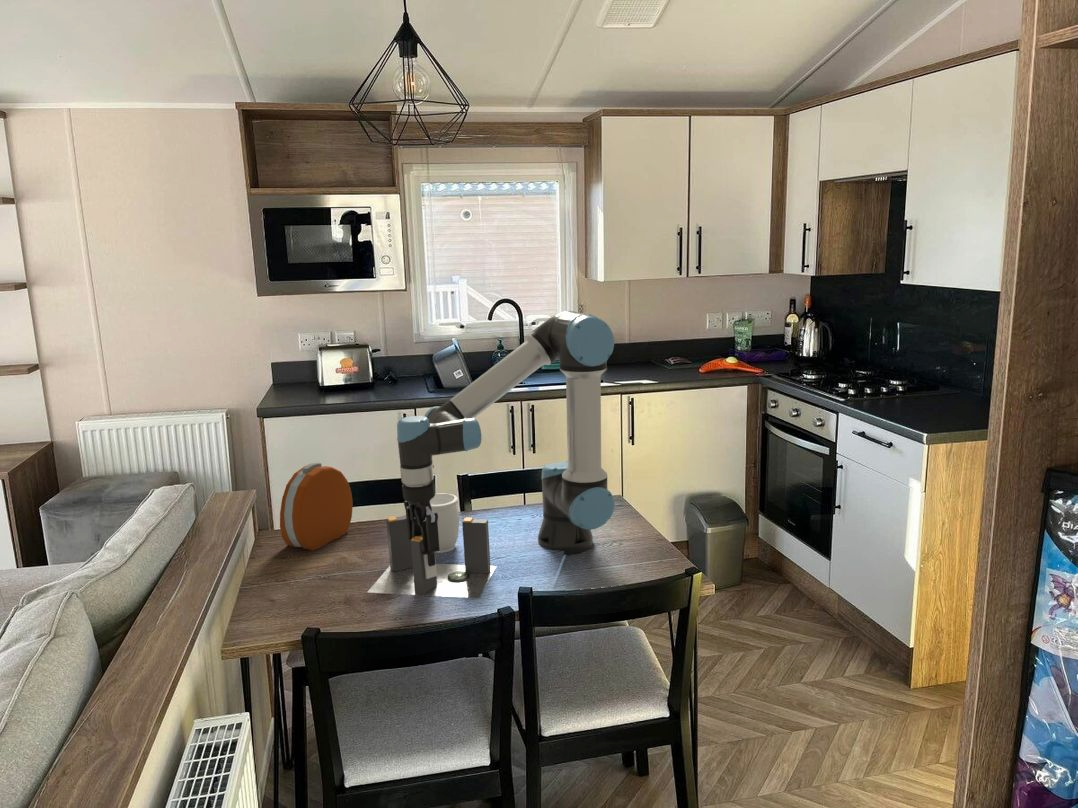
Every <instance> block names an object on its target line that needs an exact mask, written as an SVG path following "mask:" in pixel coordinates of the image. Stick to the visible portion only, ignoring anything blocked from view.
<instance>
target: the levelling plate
mask: <svg viewBox="0 0 1078 808" xmlns="http://www.w3.org/2000/svg"><path fill="white" fill-rule="evenodd" d="M490 567H491V570H490V571H489V573H467V572H465V564H453V563H452V564H451V563H436V570H437V585H436V586H435V587H434V588H432V589H431V590H430V591H428V592H427V593H426V594H424V595H423V596H428V597H429V596H430V597H431V596H432V597H446V598H447V597H448V598H449V597H450V598H451V597H452V598H464V599H465V598H466V599H467V598H468V599H480V597H481V596H482V594H483V592H484V590H485V588H486V586H487V585H488V583H489V581H490V579H491V577H492V576H493V574H494V572H495V570H496V568H497V565H490ZM367 593H368V594H387V595H388V594H389V595H404V596H405V595H406V596H420V595H419V594H415V588H414V575H413V568H408V569H404V570H399V571H395V572H393V571H392V570H391V569H390V565H389V566H388V567H387V568H386V570H384V572H383V573H382V574H381V576H379V578H378V579H377V580H376V581H375V582H374V583H373V585H372V586H371V587H370V588H369V589H368V591H367Z"/></svg>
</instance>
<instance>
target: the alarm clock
mask: <svg viewBox="0 0 1078 808" xmlns="http://www.w3.org/2000/svg"><path fill="white" fill-rule="evenodd" d="M352 496H353V495H352V491H351V487H350V484H349V481H348V479H347V478H346V476H345V475H344V473H342V471H341V470H339V469H336V468H335V467H332V466H328V465H325V466H322V463H321V462H312V463H309V464H307V465H305V466H303V467H302V468H299V470H297V471H296V472H294V473H293V475H292V477H290V478H289V480H288V482H287V484H286V485H285V489H284V491H283V495H282V498H281V503H280V511H279V529H280V535H281V537H282V540H283V541H284V543H285V544H286V545H287V546H288V545H289V546H288V547H291V546H293V548H296V547H299V548H303V549H304V550H306V549H308V551H315V550H314V549H316V548H318V547H320V546H321V547H323V546H325V545H327V544H328V542H329V543H330V541H331V542H333V541H334V539H335V540H337V539H338V538H340V537H342V536H344V535H346V534H347V532H348V530H349V528H350V525H351V522H352V518H353V507H354V505H353V502H354V501H353V497H352ZM337 537H338V538H337ZM332 540H333V541H332ZM326 543H327V544H326ZM324 544H325V545H324ZM322 545H323V546H322ZM321 547H320V548H321ZM318 549H319V548H318ZM316 550H317V549H316Z"/></svg>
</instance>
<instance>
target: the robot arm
mask: <svg viewBox="0 0 1078 808" xmlns="http://www.w3.org/2000/svg"><path fill="white" fill-rule="evenodd" d="M614 347H615V338H614V333H613V330H612V329H611V327H610V325H608V323H607V322H605V321H604V320H602V319H601V318H599V317H597V316H596V315H593V314H586V313H582V312H577V311H572V310H566V311H562V312H561V311H560V312H559V313H557V314H555V315H552V316H551V317H550V318H548V319H546V320H545V321H544V322H542V323H541V324H539V326H537V327H536V328H534V329H533V330H532V331H531V332H529V333H528V334H526V337H525V341H524V342H523V343H522V344H520V345H519V346H517V348H515V349H514V350H513V351H511V352H509V354H507V355H506V356H504V357H503V358H502V359H501V360H500V361H498V362H497V363H496V364H494V365H493V366H492V367H491V368H489V369H488V370H487V371H485V372H484V373H483V374H481V375H480V376H479V377H478V378H476V379H475V380H474V381H471V383H470V384H468V385H467V386H466V387H464V388H463V389H462V390H460V391H459V392H458V393H457V394H455V395H454V396H453V397H452V398H450V399H449V400H447V401H446V402H445V403H443V404H442V405H441V406H440V405H439V406H438V405H437V406H433V407H432V406H431V407H430V408H429V409H428V410H426V412H425V414H424V415H411V416H410V415H409V416H405V417H403V418H401V419H399V420H398V422H397V424H396V429H397V430H396V431H397V434H396V435H397V437H396V440H397V446H398V455H399V456H398V457H399V463H400V465H399V468H400V469H399V470H400V478H401V483H402V485H401V486H402V487H401V488H402V498H403V499H404V501H403V506H404V510H405V515H406V519H407V529H408V538H409V540H411V539H412V538H414V537H415V536H420V535H421V534H422V539H423V544H424V549H425V552H422V554H423V557H424V568H425V578H426V579H429V578H432V577H435V576H437V570H436V564H437V563H436V562H437V560H436V553H435V552H438V551H440V549H439V536H438V524H437V521H438V514H437V513H433V512H432V508H431V504H430V500H431V499H432V498H433V497H434V496H435V494H436V487H435V482H434V478H435V477H434V468H435V465H434V464H433V456H438V455H439V456H440V455H444V454H445V455H447V454H453V453H461V452H468V451H471V450H475V449H478V448H479V447H481V444H482V430H481V427H480V426H481V425H480V423H479V421H478V420H477V419H476V417H478V416H479V415H480V414H481V413H483V412H484V411H485V410H487V409H489V407H490V406H492V405H493V404H494V403H496V402H497V401H499V399H501V398H502V397H503V396H504V395H506V394H507V393H509V392H510V391H511V390H512V389H513V388H515V387H516V386H518V385H519V384H520V383H521V382H523V381H524V380H526V379H527V378H528V377H529V376H530V375H532V374H533V373H535V372H536V371H537V370H538V369H540V368H541V367H542V366H544V365H546V366H550V365H551V364H552V363H554V362H556V360H558V359H559V371H560V372H561V373H562V374H563V375H564V376H565V380H566V381H565V386H566V387H565V389H566V391H565V393H566V394H565V395H566V443H567V445H566V448H567V450H566V451H567V461H557V462H551V463H549V464H546V465H544V466H543V467H542V470H541V477H540V479H541V492H542V512H543V515H542V516H543V518H542V522H541V525H540V528H539V532H538V534H537V535H538V536H537V543H538V545H540V547H542V548H545V549H548V550H552V551H557V552H559V551H560V552H563V555H573V554H578V553H581V552H582V553H583V552H585V551H587V550H589V549H590V548H592V546H593V543H594V537H593V533H592V530H596V529H599V528H601V527H603V526H604V525H605V524H607V522H608V521H609V520H611V518H612V516H613V514H614V512H615V507H616V501H615V497H614V496H613V494H612V492H611V491H610V490H609V489H608V472H607V471H605V469H603V468H602V410H601V409H602V404H601V403H602V402H601V401H602V395H601V394H602V391H601V390H602V388H601V387H602V386H601V381H602V379H601V378H602V374H604V373H605V372H606V371H607V370H608V365H607V363H608V360H609V358H610V357H611V355H612V354H613V351H614ZM425 520H426V521H425Z"/></svg>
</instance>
